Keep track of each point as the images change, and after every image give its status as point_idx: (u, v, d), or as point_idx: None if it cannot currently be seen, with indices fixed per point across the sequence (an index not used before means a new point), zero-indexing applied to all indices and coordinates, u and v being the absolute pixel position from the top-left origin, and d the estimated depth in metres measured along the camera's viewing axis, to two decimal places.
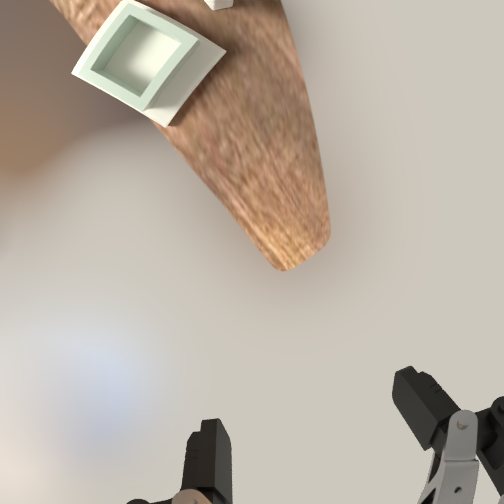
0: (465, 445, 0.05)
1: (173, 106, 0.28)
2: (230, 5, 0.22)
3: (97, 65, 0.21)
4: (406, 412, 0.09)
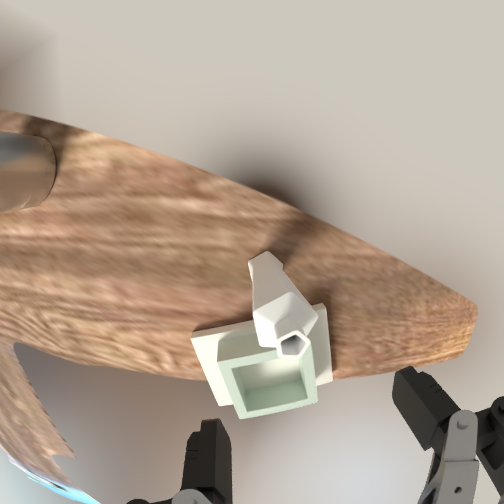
0: (465, 445, 0.05)
1: (326, 368, 0.32)
2: (282, 267, 0.30)
3: (245, 401, 0.30)
4: (406, 412, 0.09)
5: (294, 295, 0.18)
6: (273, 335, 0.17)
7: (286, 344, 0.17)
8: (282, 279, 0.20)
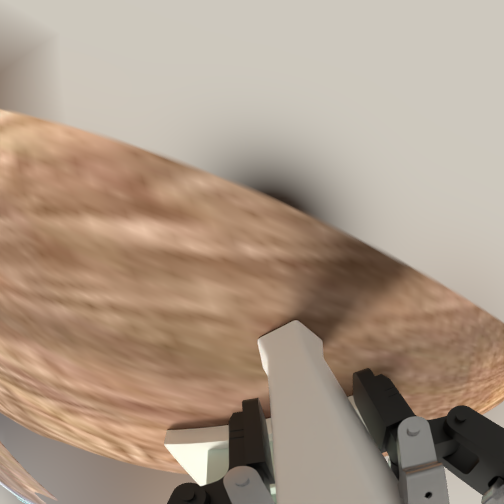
0: (422, 451, 0.05)
1: None
2: (322, 348, 0.15)
3: None
4: (364, 414, 0.10)
5: None
6: None
7: None
8: (355, 460, 0.06)
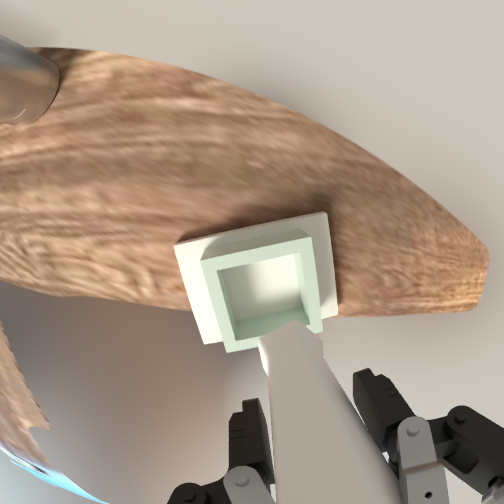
0: (422, 451, 0.05)
1: (330, 295, 0.29)
2: (322, 348, 0.15)
3: (234, 329, 0.27)
4: (364, 413, 0.10)
5: None
6: None
7: None
8: (355, 459, 0.06)
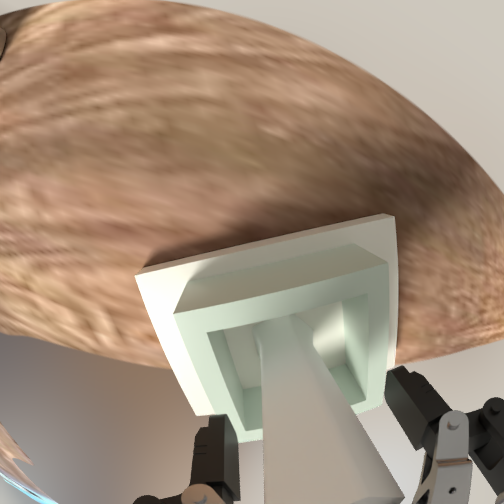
0: (457, 446, 0.05)
1: (388, 343, 0.17)
2: None
3: (242, 409, 0.15)
4: (398, 412, 0.09)
5: (371, 499, 0.04)
6: None
7: None
8: (334, 428, 0.07)
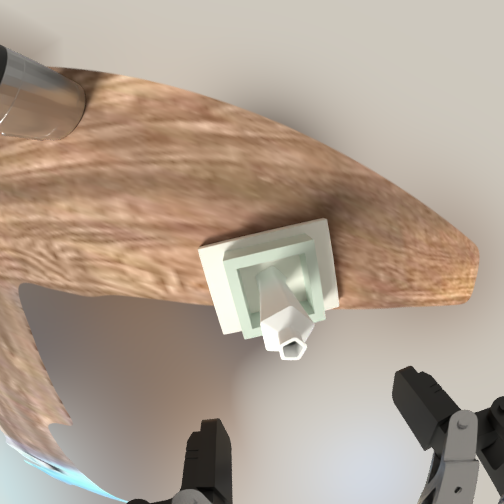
0: (465, 445, 0.05)
1: (331, 289, 0.34)
2: None
3: (250, 319, 0.32)
4: (406, 412, 0.09)
5: (294, 308, 0.21)
6: (277, 341, 0.21)
7: (288, 348, 0.21)
8: (284, 294, 0.24)
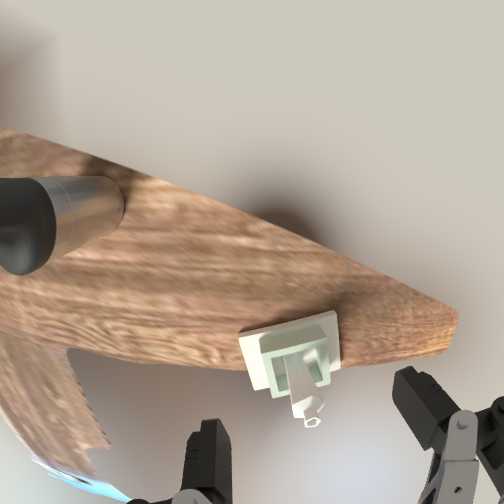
0: (465, 445, 0.05)
1: (335, 358, 0.43)
2: None
3: (277, 384, 0.41)
4: (406, 412, 0.09)
5: (313, 397, 0.30)
6: (302, 414, 0.30)
7: None
8: (306, 382, 0.33)
